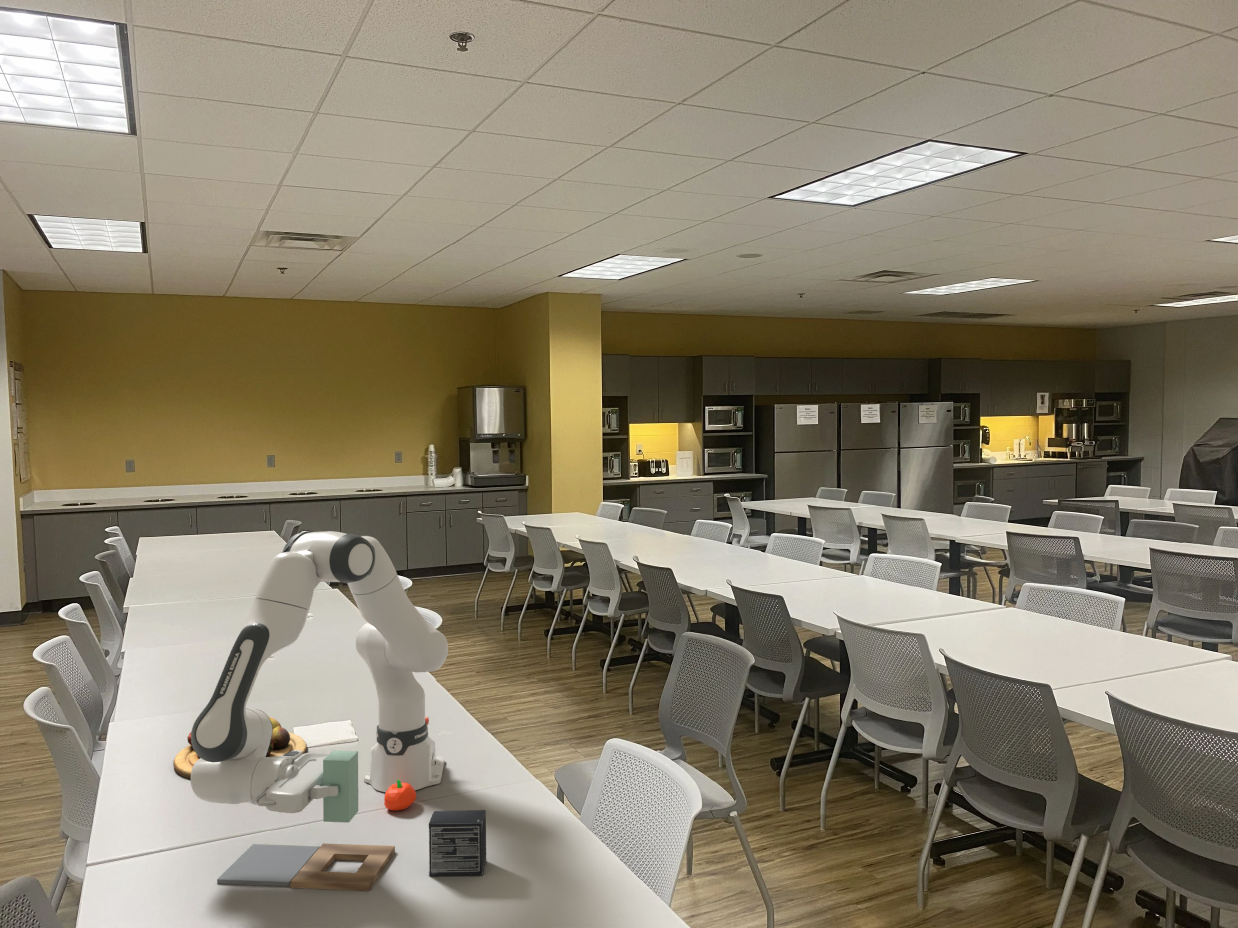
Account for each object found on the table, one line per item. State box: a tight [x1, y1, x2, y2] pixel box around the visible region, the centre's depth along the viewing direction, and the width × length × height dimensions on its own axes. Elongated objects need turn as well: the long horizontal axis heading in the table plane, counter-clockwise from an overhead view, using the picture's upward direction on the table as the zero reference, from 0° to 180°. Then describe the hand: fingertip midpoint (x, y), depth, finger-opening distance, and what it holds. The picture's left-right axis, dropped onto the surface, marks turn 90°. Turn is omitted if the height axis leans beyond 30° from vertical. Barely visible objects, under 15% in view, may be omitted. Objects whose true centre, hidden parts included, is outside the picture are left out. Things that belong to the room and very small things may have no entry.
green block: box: [322, 750, 359, 823], centre depth 169 cm, size 5×5×12 cm
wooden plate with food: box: [172, 716, 308, 780], centre depth 227 cm, size 32×32×8 cm
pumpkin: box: [383, 779, 417, 812], centre depth 197 cm, size 7×8×6 cm
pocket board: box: [290, 842, 396, 892], centre depth 170 cm, size 15×15×1 cm
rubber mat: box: [216, 843, 321, 887], centre depth 171 cm, size 14×14×1 cm
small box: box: [428, 809, 487, 877], centre depth 170 cm, size 11×6×10 cm, turn 92°
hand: (345, 783), depth 169 cm, fingers closed on green block, 5 cm apart
